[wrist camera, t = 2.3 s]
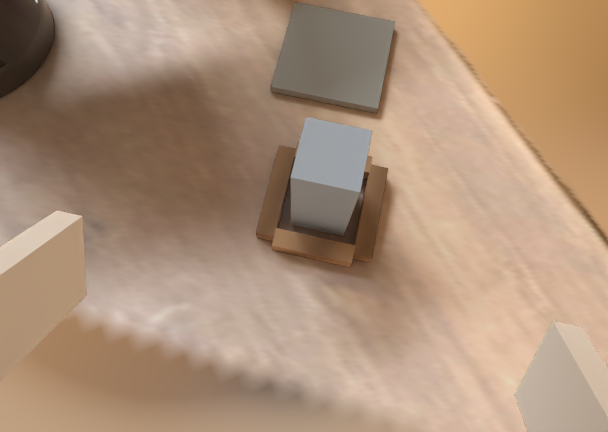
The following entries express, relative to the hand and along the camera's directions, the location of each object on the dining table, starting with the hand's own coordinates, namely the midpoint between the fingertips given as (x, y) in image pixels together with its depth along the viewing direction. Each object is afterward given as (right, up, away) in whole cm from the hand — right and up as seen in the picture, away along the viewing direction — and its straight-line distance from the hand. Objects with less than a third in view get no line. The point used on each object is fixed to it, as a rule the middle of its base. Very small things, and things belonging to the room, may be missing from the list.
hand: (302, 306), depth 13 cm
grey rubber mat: (+3, +18, +31) cm, 36 cm away
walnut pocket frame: (+2, +3, +26) cm, 26 cm away
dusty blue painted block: (+2, +3, +26) cm, 26 cm away
